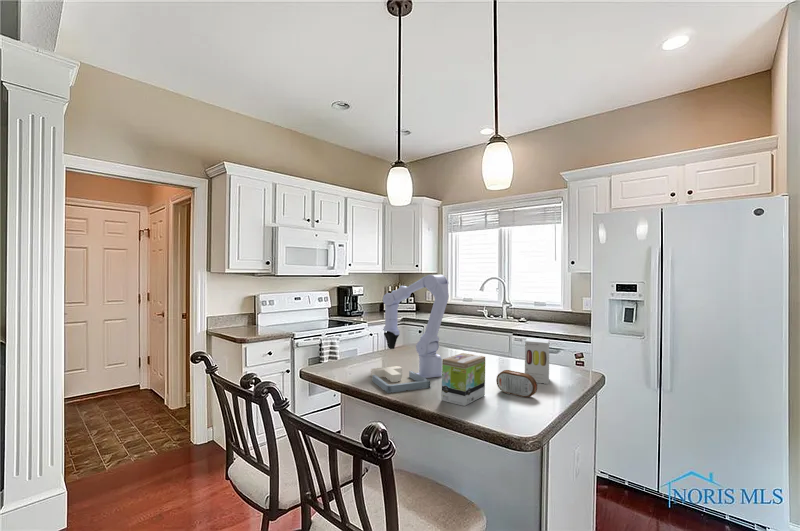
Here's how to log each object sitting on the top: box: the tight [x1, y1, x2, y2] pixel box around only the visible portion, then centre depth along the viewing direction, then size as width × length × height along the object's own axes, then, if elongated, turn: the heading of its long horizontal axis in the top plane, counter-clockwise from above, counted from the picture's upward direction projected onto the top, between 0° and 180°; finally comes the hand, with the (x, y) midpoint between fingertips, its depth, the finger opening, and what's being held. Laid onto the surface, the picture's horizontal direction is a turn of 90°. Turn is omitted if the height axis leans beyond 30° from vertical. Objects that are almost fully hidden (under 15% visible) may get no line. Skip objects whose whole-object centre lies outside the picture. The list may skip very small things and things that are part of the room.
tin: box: [496, 369, 538, 398], centre depth 147 cm, size 15×3×8 cm, turn 50°
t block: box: [370, 365, 403, 383], centre depth 169 cm, size 13×13×3 cm
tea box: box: [441, 352, 486, 407], centre depth 143 cm, size 15×10×15 cm, turn 143°
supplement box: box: [524, 337, 550, 385], centre depth 166 cm, size 10×9×17 cm
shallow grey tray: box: [371, 370, 431, 394], centre depth 160 cm, size 18×17×2 cm
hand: (391, 348), depth 185 cm, fingers closed
